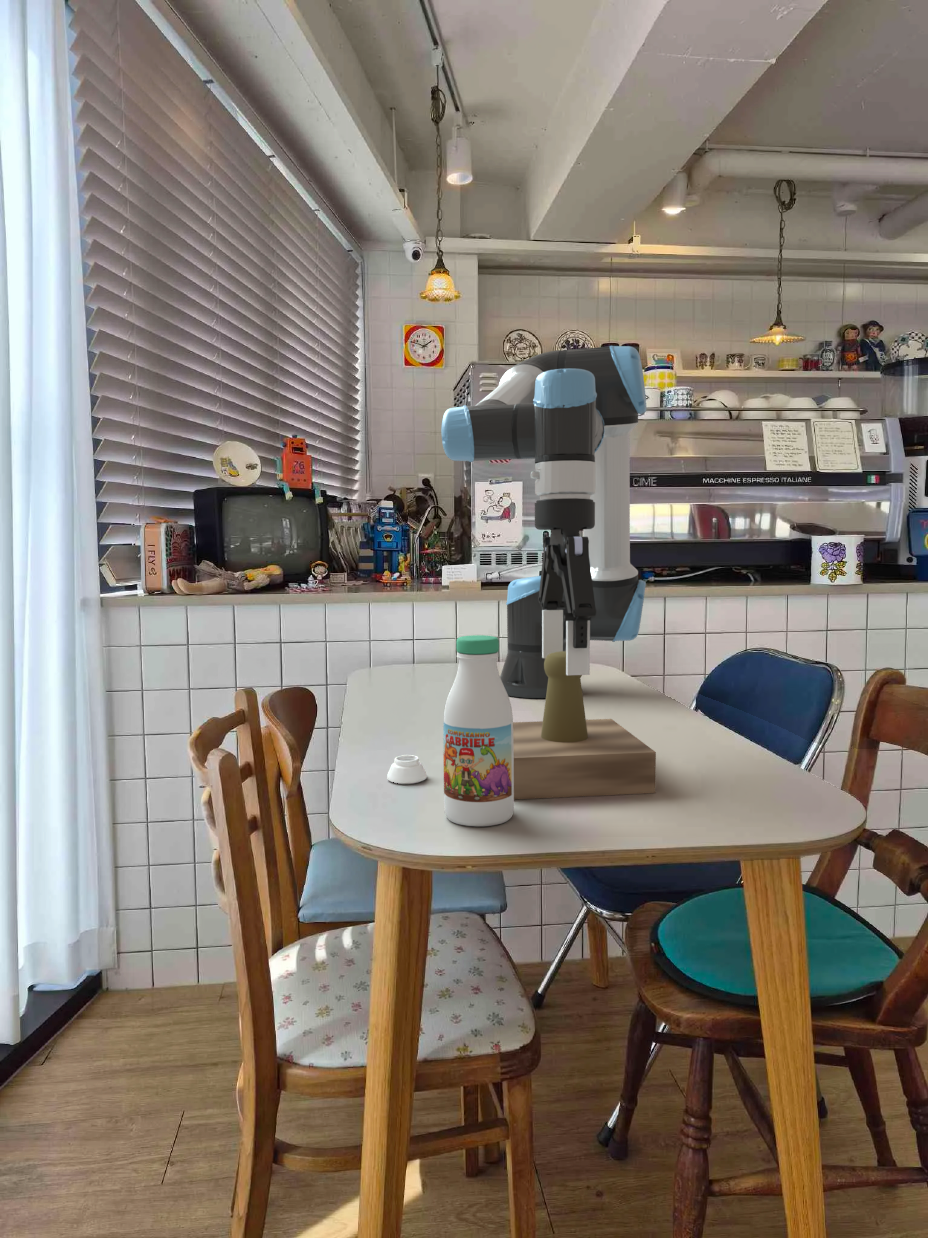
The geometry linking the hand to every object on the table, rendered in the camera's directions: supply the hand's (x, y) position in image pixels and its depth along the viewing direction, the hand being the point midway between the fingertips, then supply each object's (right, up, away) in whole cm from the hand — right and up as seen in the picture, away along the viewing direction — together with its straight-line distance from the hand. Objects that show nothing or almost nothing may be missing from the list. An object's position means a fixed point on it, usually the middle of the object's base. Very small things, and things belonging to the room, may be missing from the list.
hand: (564, 665), depth 103 cm
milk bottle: (-11, -16, -14) cm, 24 cm away
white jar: (-20, -15, 0) cm, 25 cm away
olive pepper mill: (0, -9, +1) cm, 9 cm away
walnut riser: (0, -14, +1) cm, 14 cm away
